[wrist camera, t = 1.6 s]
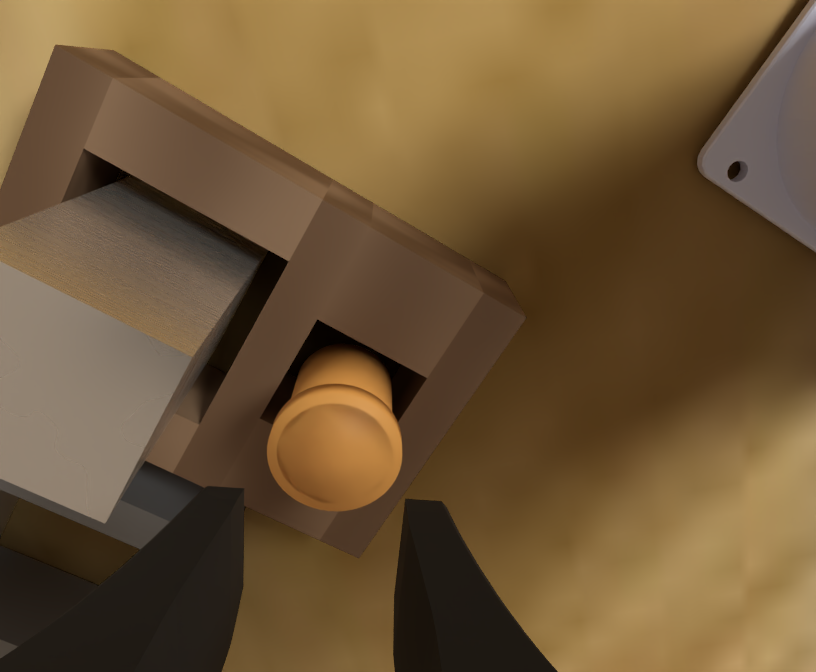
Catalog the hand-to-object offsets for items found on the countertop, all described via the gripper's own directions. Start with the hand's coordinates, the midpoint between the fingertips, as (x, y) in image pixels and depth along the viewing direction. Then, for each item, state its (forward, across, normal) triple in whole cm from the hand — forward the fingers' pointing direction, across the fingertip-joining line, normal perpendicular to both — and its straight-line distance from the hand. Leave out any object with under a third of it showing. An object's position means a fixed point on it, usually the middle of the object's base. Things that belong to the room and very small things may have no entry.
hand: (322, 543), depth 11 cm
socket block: (+8, +3, -1) cm, 9 cm away
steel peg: (+8, +5, -2) cm, 10 cm away
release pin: (+6, 0, 0) cm, 6 cm away
